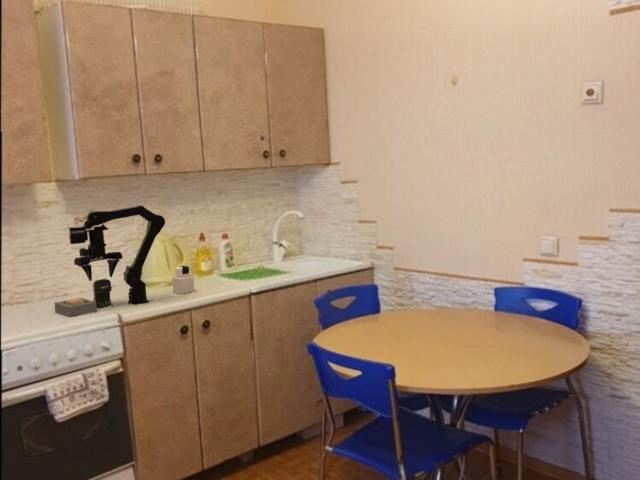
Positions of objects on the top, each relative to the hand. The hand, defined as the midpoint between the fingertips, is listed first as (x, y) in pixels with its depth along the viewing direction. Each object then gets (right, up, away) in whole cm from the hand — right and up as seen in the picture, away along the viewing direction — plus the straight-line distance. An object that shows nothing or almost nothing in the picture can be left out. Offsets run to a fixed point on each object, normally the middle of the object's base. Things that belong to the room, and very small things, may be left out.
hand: (100, 278), depth 253 cm
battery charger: (+1, -12, +2) cm, 12 cm away
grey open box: (-8, -13, -6) cm, 16 cm away
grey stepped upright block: (+28, -8, +26) cm, 40 cm away
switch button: (-8, -11, -7) cm, 15 cm away
